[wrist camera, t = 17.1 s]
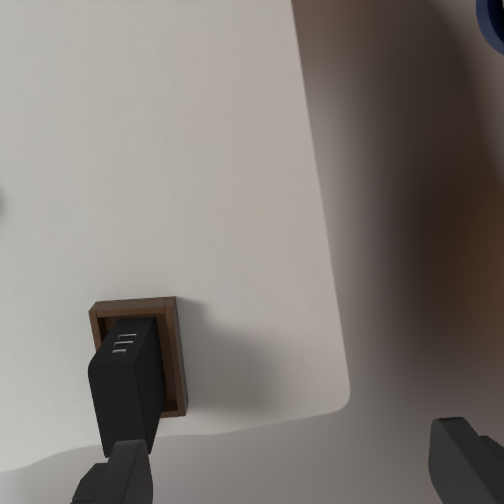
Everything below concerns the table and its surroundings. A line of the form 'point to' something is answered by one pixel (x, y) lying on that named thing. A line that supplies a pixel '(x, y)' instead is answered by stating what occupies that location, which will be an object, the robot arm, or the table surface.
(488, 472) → the robot arm
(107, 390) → the electronic device
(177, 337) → the tray
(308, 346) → the table surface
